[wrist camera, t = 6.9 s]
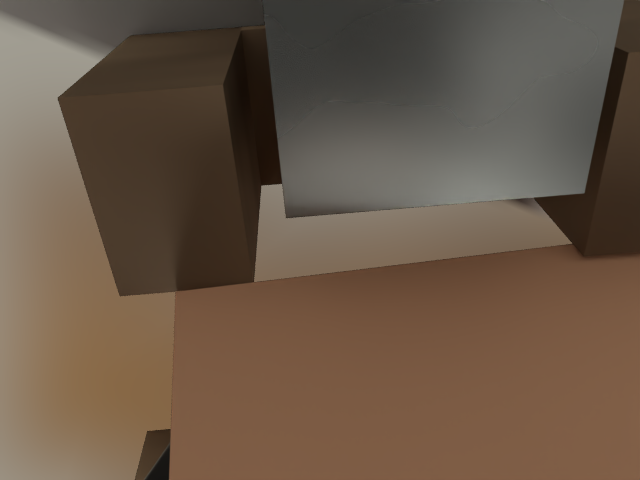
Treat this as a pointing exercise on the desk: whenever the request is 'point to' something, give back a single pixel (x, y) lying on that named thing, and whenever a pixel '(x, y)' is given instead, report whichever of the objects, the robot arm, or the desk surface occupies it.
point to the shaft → (435, 99)
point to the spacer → (414, 372)
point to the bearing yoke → (266, 156)
